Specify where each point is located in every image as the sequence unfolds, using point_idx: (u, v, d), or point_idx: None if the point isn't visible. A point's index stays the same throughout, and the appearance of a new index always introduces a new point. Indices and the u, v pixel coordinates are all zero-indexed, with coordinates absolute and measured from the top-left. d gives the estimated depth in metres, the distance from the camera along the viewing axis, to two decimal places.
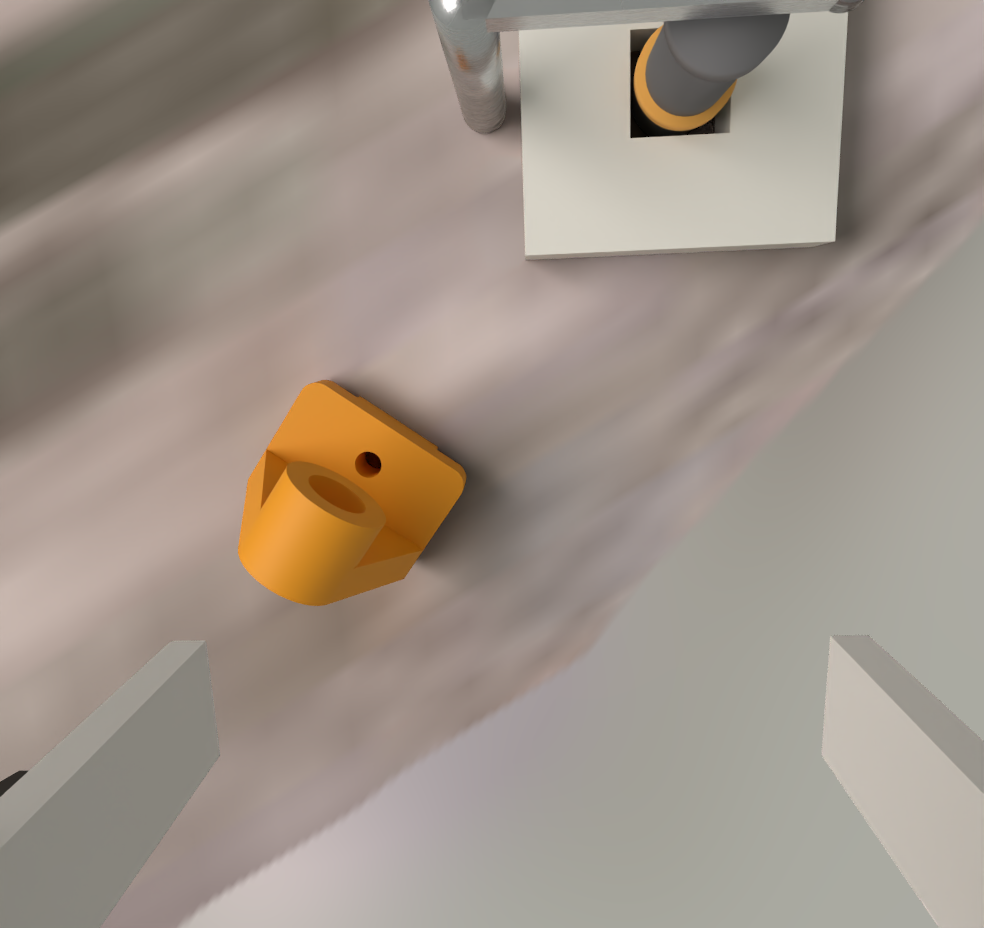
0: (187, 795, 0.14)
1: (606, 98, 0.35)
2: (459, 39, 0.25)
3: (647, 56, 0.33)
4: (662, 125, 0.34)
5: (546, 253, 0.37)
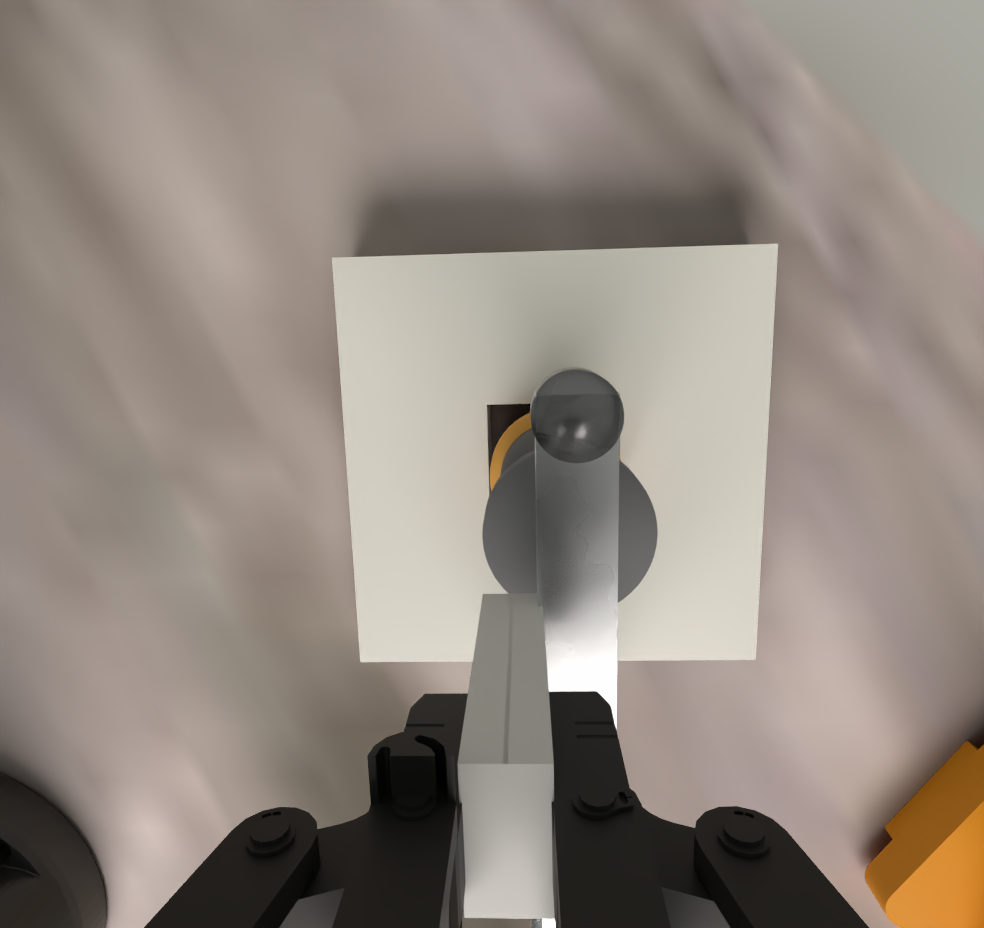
0: None
1: None
2: None
3: None
4: None
5: (755, 633, 0.28)
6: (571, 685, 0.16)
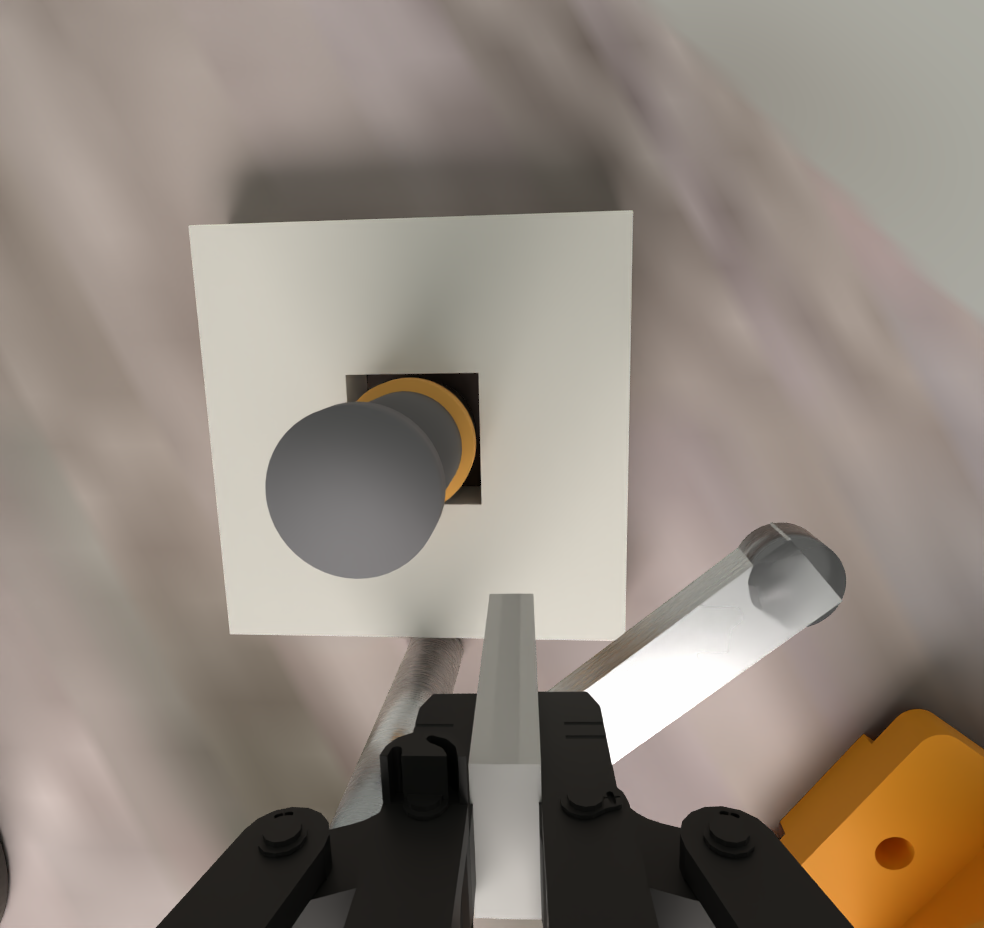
0: None
1: (432, 534, 0.27)
2: None
3: None
4: (469, 470, 0.26)
5: (624, 614, 0.27)
6: None
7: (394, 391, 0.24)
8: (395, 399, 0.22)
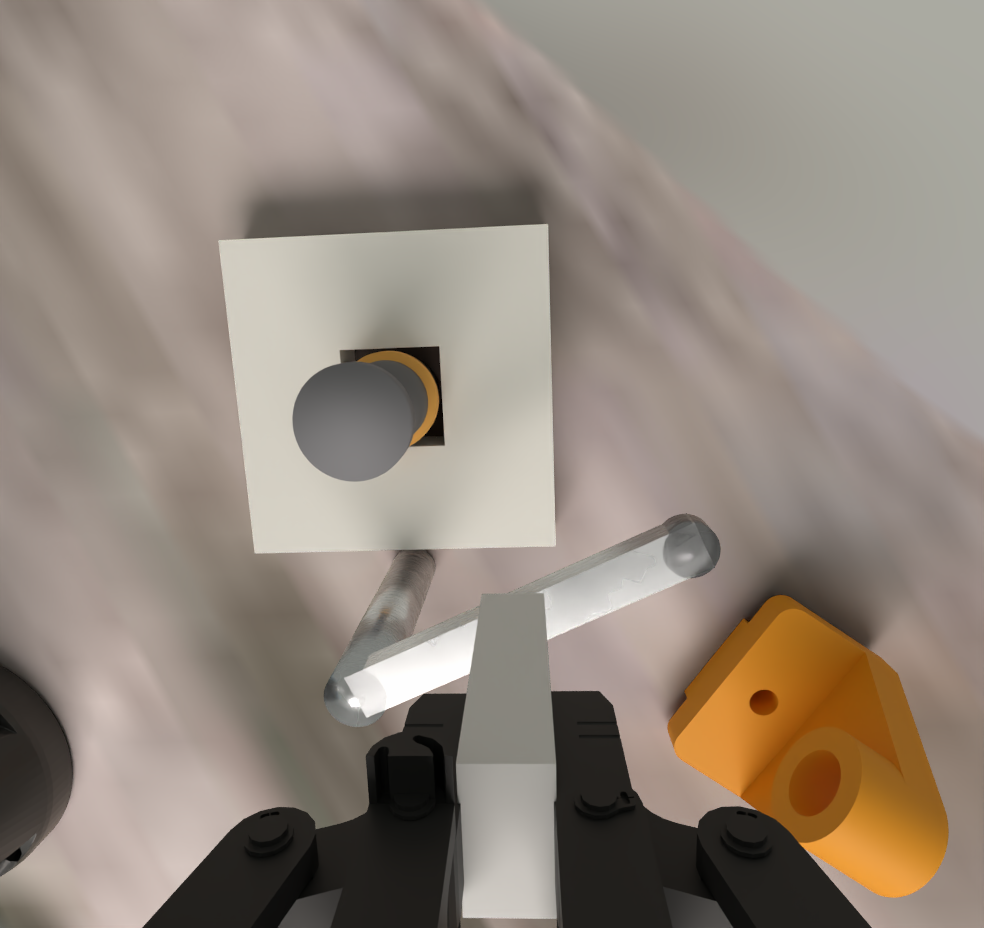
0: None
1: (408, 469, 0.36)
2: None
3: None
4: (434, 419, 0.34)
5: (554, 525, 0.36)
6: None
7: (377, 360, 0.33)
8: (378, 363, 0.31)
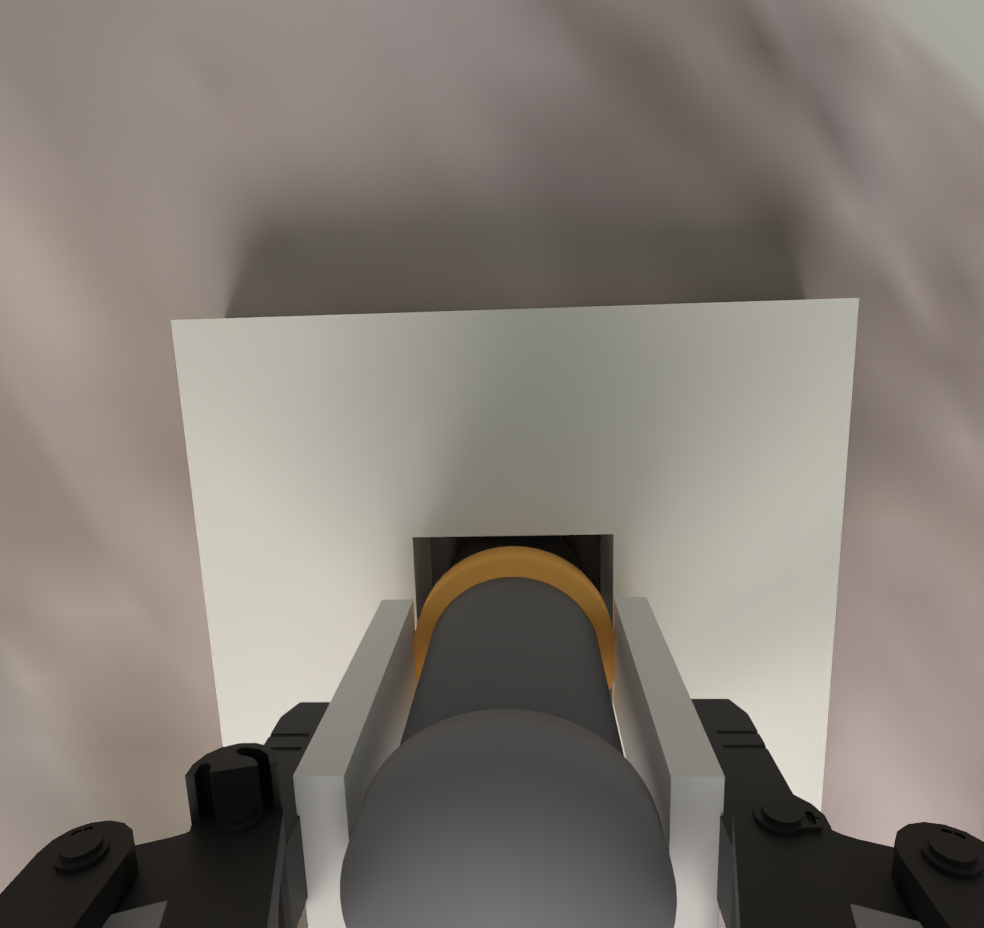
0: None
1: None
2: None
3: None
4: None
5: None
6: None
7: (498, 578, 0.16)
8: (524, 626, 0.13)
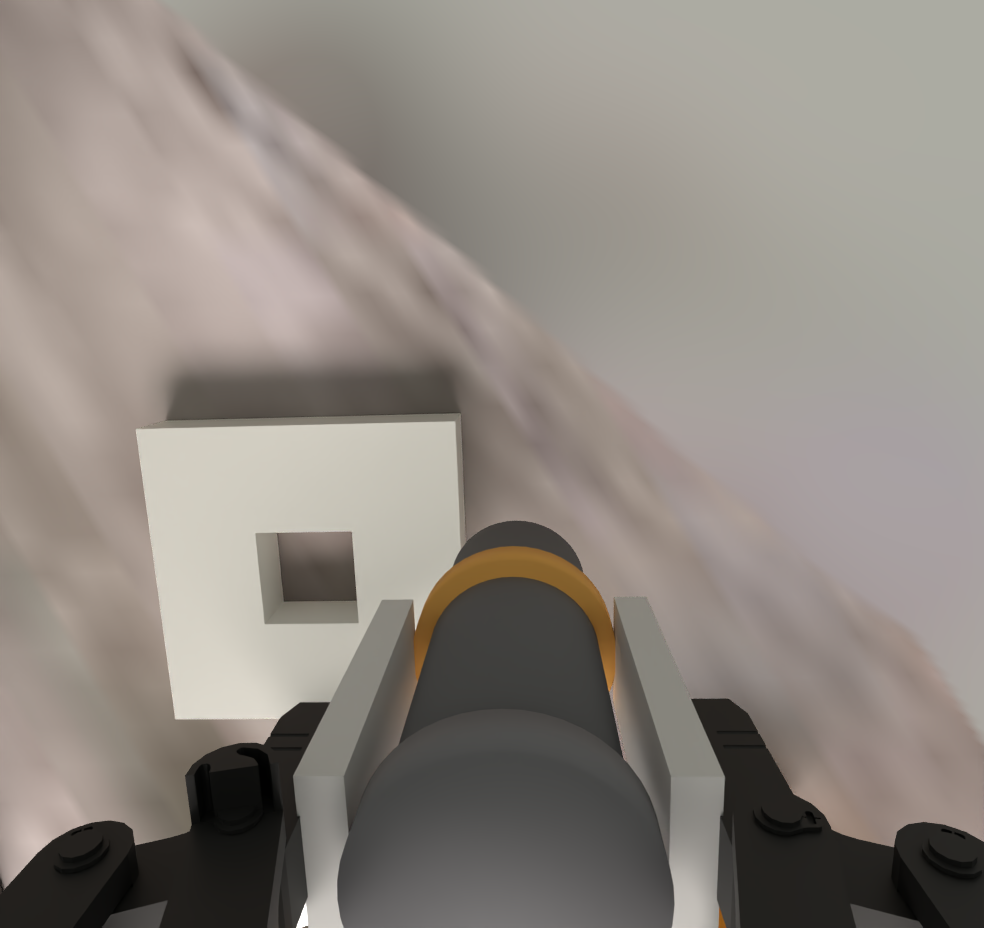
0: None
1: (324, 644, 0.37)
2: None
3: None
4: None
5: None
6: None
7: (498, 578, 0.16)
8: (523, 626, 0.13)
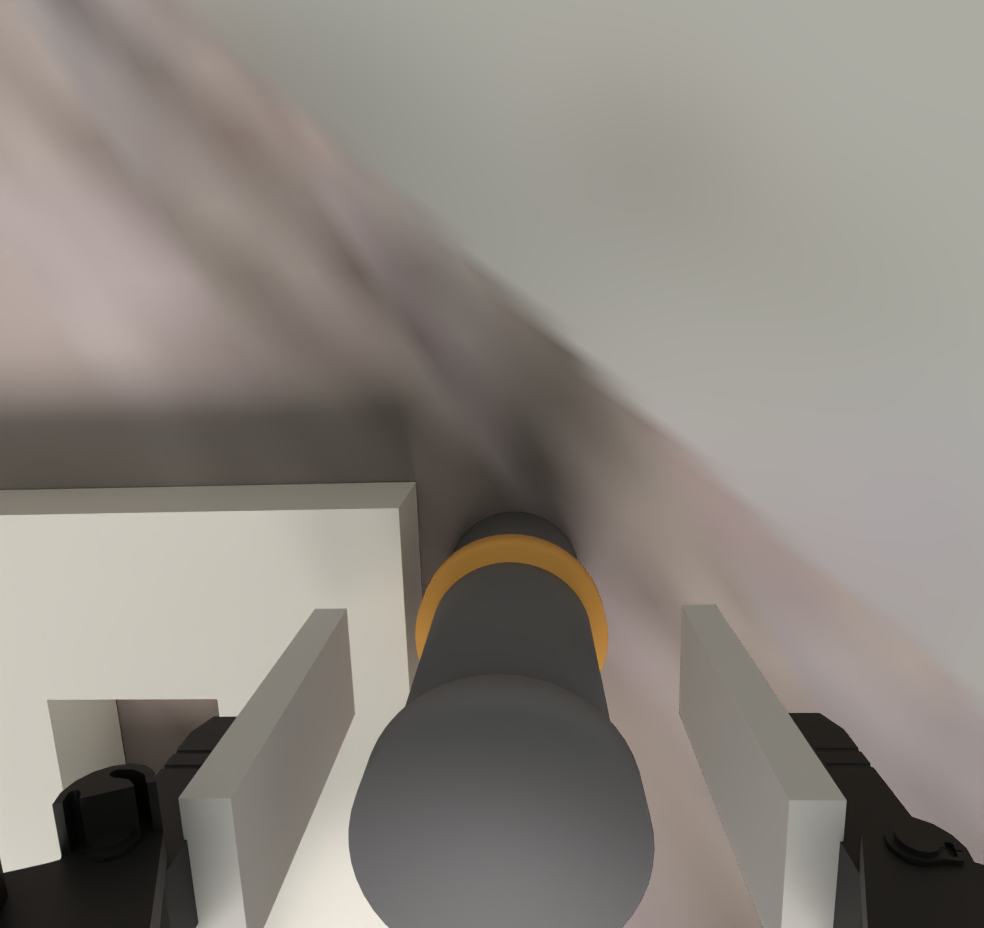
0: (338, 747, 0.15)
1: None
2: None
3: None
4: None
5: None
6: None
7: (495, 563, 0.17)
8: (519, 606, 0.14)
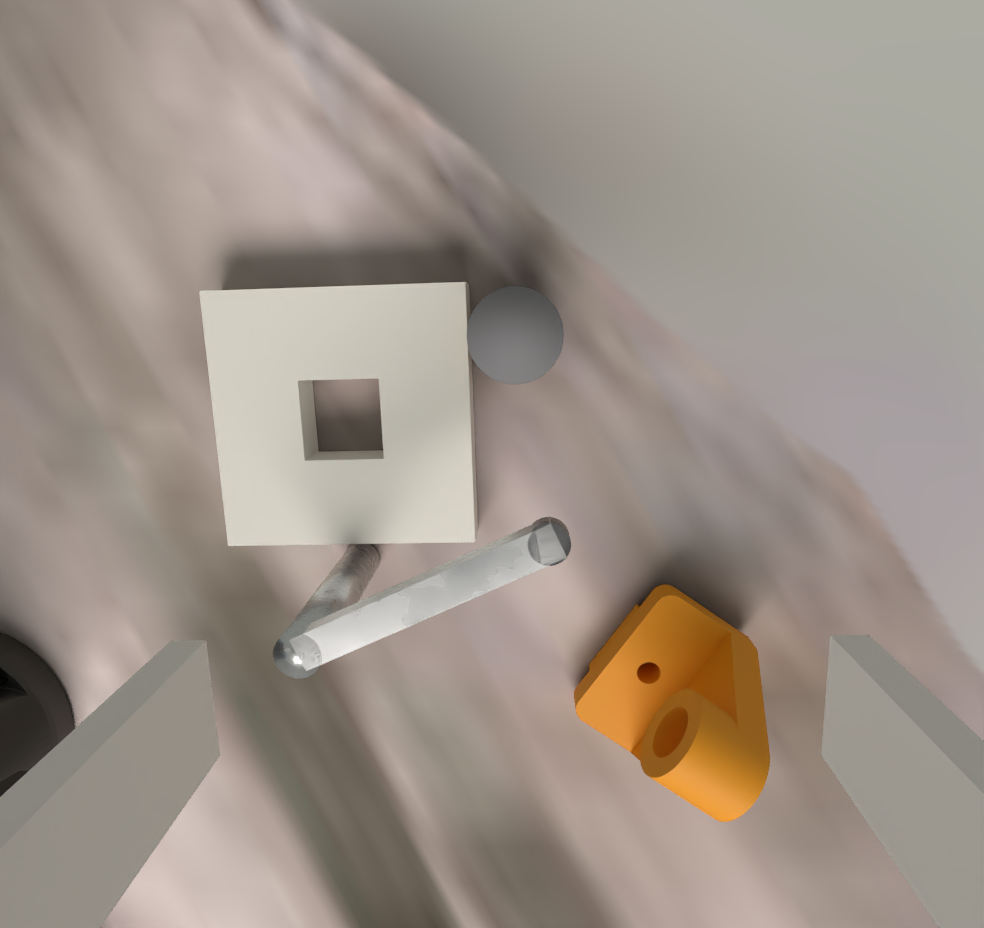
0: (187, 795, 0.14)
1: (354, 478, 0.44)
2: None
3: None
4: None
5: (473, 525, 0.44)
6: (427, 595, 0.33)
7: None
8: None
